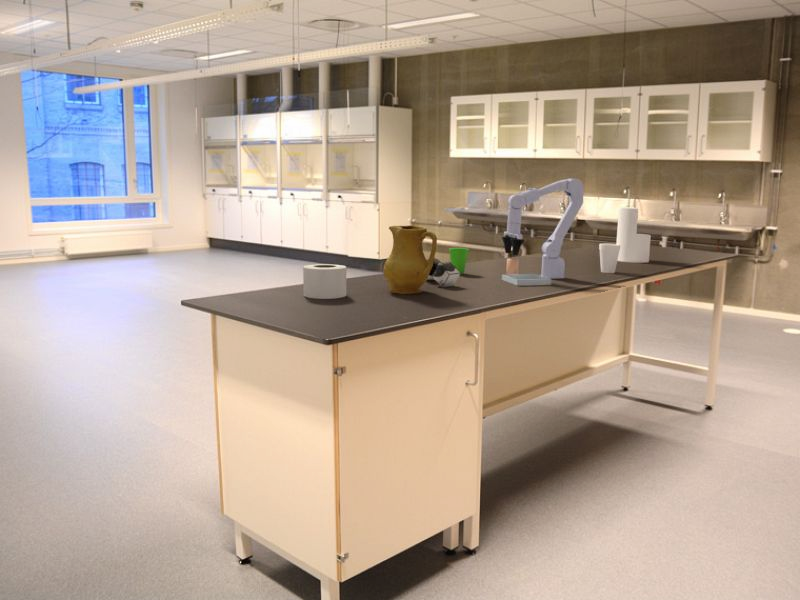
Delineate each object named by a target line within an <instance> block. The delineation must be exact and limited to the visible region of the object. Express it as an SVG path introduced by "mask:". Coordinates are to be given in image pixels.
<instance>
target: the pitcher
mask: <svg viewBox="0 0 800 600" xmlns="http://www.w3.org/2000/svg"><path fill="white" fill-rule="evenodd" d="M388 229H389V231H390V232H391V234H392V241H393V243H392V249H391V251H390V255H388V258H387V259H386V261H385V262H384V265H383V275H384V277H385V278H386V282H387V283H388V284H389V287H390V289H389V290H388V291H389V292H390V293H393V294H399V295H409V294H410V295H411V294H421V293H423V291H422V290H421V289H420V288H421V286H423V285H424V284H425V283H426V282H427V281H428V276H429V273H430V270H431V269H432V266H433V262H434V258H435V256H436V252H437V244H438V237H437V235H436V233H435V232H434V231H429V230H428V228H427V227H425V226H419V225H418V226H417V225H415V224H414V225H413V224H411V225H391V226H389V227H388ZM427 237H429V238H430V239H431V242H432V243H431V249H430V255H429V257H428V259H429V261H428V262H427V260H428V259H427V258H426V256H425V253H424V251H423V249H424V248H423V241H424V240H425V239H426V238H427Z"/></svg>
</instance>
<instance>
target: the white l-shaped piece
mask: <svg viewBox="0 0 800 600" xmlns="http://www.w3.org/2000/svg"><path fill="white" fill-rule="evenodd" d="M638 216H639V208H638V207H635V206H619V207H618V215H617V217H618V218H617V229H616V230H617V231H616V243H615V244H619V245H620V250H619V255H618V260H617V262H621V263H623V262H624V263H637V264H638V263H649V262H650V253H651V252H650V251H651V250H650V248H651V237H652V235H651V234H647V233H646V234H645V233H638V231H637V229H638Z"/></svg>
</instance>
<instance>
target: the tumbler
mask: <svg viewBox="0 0 800 600" xmlns="http://www.w3.org/2000/svg"><path fill="white" fill-rule="evenodd" d="M519 263H520V259H519V258H512V257H509V258H506V271H505V275H510V274H519V267H520V265H519Z"/></svg>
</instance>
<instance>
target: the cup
mask: <svg viewBox="0 0 800 600" xmlns="http://www.w3.org/2000/svg"><path fill="white" fill-rule="evenodd" d="M448 251H449V257H450V262H451V263H452V264H453V266H456V269H457V270H458V271H459V272H460V275H463V274H464V273H465V269H466V265H467V264H466V263H467V258H468V253H469V251H470V249H469V248H464V247H452V248H448Z"/></svg>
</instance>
